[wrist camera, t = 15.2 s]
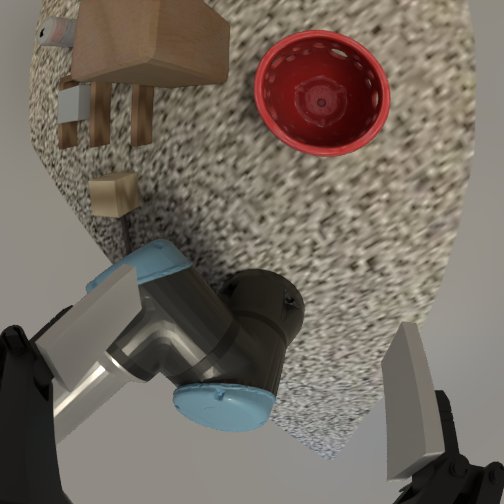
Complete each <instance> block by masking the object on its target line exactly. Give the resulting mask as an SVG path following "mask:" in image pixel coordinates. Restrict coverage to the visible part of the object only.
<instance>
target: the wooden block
mask: <svg viewBox="0 0 504 504" xmlns="http://www.w3.org/2000/svg"><path fill="white" fill-rule="evenodd" d="M229 38H230V25H229V23H228V22H227V21H226V20H225V19H224V18H222V17H221V16H220V15H219V14H218V13H217V12H215V11H214V10H213V9H212V8H211V7H210V6H208V5H207V4H206V3H205V2H203V1H202V0H83V1H82V3H81V4H80V6H79V10H78V16H77V22H76V29H75V36H74V44H73V54H72V66H71V76H72V79H73V80H76V81H80V82H111V83H126V84H138V85H148V86H157V87H165V88H175V87H184V86H194V85H206V84H221V83H223V82H226V81H227V78H228V62H229Z"/></svg>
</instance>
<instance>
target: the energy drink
mask: <svg viewBox="0 0 504 504" xmlns="http://www.w3.org/2000/svg"><path fill="white" fill-rule="evenodd" d="M76 22H77V20H73V19H67V18H61V17H49V18H47V19H45V20H44V22H43V23H42V24H41V26H40V28H39V30H38V33H37V37H36V40H37V43H38V44H40V45H42V46H57V47H70V48H73V44H74V36H75V29H76Z"/></svg>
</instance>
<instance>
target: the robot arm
mask: <svg viewBox="0 0 504 504" xmlns="http://www.w3.org/2000/svg"><path fill="white" fill-rule="evenodd" d="M192 265H193V263H192V261H189V260H188V259H187V258H186V257H185V256H184V255H183V254H182V253H181V252H180V251H179V249H178V248H177V247H176V246H175V245H174V244H173V243H172V242H171V241H169V240H166V239H156V240H153V241H151V242H149V243H147V244H146V245H144V246H142V247H140V248H139V249H137V250H135V251H134V252H132V253H130V254H129V255H127V256H126V257H124V258H123V259H121V260H120V261H118V262H117V263H115V264H114V265H112V266H111V267H109V268H108V269H107V270H105V271H104V272H102V273H101V274H100V275H98V277H96V278H95V279H94V280H93V281H91V282H89V284H87V286H86V291H87V295H86V296H85V297H83V298H82V299H81V300H80V301H79V302H78V303H77V304H76V305H74V306H73V305H71V306H69V307H67V308H65V309H63V310H62V311H61V312H59V313H58V314H57V315H56V316H55V318H53V319H52V320H51V321H50V323H49V322H48V323H47V324H46V325H45V326H44V327H43V328H42V329H41V330H40V331H39V332H38V333H37V334H36V335H34V337H32V338H31V339H30V340H29V341H28V339H27V337H26V335H25V333H24V331H23V329H22V328H21V327H20V326H19V325H12V326H9V327H7V328H6V329H5V330H4V331H3V332H2V333H1V335H0V504H73V503H72V502H71V500H70V499H69V498H68V496H67V495H66V494H65V493H64V491H63V490H62V486H61V481H60V475H59V468H58V461H57V454H56V445H57V444H58V443H59V442H61V441H62V440H63V439H64V438H65V437H66V436H67V435H69V434H70V433H71V432H72V431H73V430H75V429H76V428H77V427H78V426H79V425H80V424H81V423H82V422H84V421H85V420H86V419H87V418H88V417H89V416H90V415H92V413H94V412H95V411H96V410H97V409H98V408H99V407H100V406H102V405H103V404H104V403H105V402H106V401H107V400H109V399H110V398H111V397H112V396H113V395H114V394H115V393H116V392H117V391H119V390H120V389H121V388H122V387H123V386H124V385H125V384H126V383H127V382H130V381H133V382H140V383H147V382H148V381H149V380H151V379H152V378H153V377H154V376H155V375H156V374H157V373H159V372H161V373H162V374H163V375H165V376H166V377H167V378H168V379H169V380H170V381H171V382H172V383H173V384H174V385H175V386H176V387H177V389H175V391H174V393H173V395H174V396H173V403H174V404H175V407H176V409H177V410H178V411H179V412H180V413H181V414H182V415H184V416H185V417H187V418H188V419H190V420H192V421H194V422H196V423H198V424H200V425H203V426H205V427H209V428H212V429H216V430H221V431H228V432H246V431H251V430H255V429H257V428H259V427H261V426H262V425H264V424H265V423H266V422H267V420H268V418H269V416H270V413H271V410H272V407H273V405H274V404H275V402H276V396H277V391H278V387H279V382H280V377H281V373H282V368H283V363H284V358H285V353H286V349H287V347H288V346H289V345H290V343H291V342H292V341H293V339H294V338H295V337H296V335H297V334H298V333H299V331H300V329H301V327H302V324H303V319H304V312H305V308H304V302H303V299H302V297H301V295H300V293H299V291H298V290H297V289H296V287H295V286H294V285H293V284H292V283H291V282H289V281H288V280H287V279H285V278H284V277H282V276H280V275H278V274H275V273H273V272H269V271H265V270H246V271H242V272H239V273H237V274H235V275H233V276H232V277H230V278H229V279H228V280H227V281H226V282H225V284H224V285H223V287H222V288H221V290H220V292H219V294H218V295H217V294H216V293H215V292H214V291H213V289H212V288H211V287H210V286H209V285H208V284H207V282H206V281H205V280H204V279H203V278H202V277H201V275H200V274H199V273H198V272H197V271H196V269H195V268H194V267H193V266H192ZM381 364H382V373H383V383H384V394H385V407H386V424H387V482H390V481H404V480H406V479H407V478H409V477H410V476H412V482H411V483H410V484H408V485H406V486H405V487H403V488H402V489H400V490H399V492H402V491H403V493H402V494H401V495H400V496H399V497H398V498H397V500H396V501H395V502H394V503H393V504H500V500H501V496H502V492H503V488H504V466H503V465H502V464H501V463H499V462H492V463H490V464H489V465H487V466H486V467H480V466H475V465H471V464H469V461H468V459H467V458H466V457H465V456H463V455H461V454H460V453H459V448H458V442H457V436H456V431H455V425H454V421H453V415H452V413H451V406H450V401H449V399H448V398H447V396H446V394H445V393H444V391H443V390H434V386H433V382H432V378H431V374H430V370H429V366H428V362H427V359H426V355H425V351H424V348H423V344H422V341H421V337H420V334H419V331H418V328H417V325H416V323H411V322H404V321H402V323H401V325H400V327H399V329H398V331H397V333H396V335H395V337H394V339H393V341H392V343H391V345H390V347H389V349H388V350H387V352H386V354H385V356H384V358H383V360H382V361H381Z"/></svg>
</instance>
